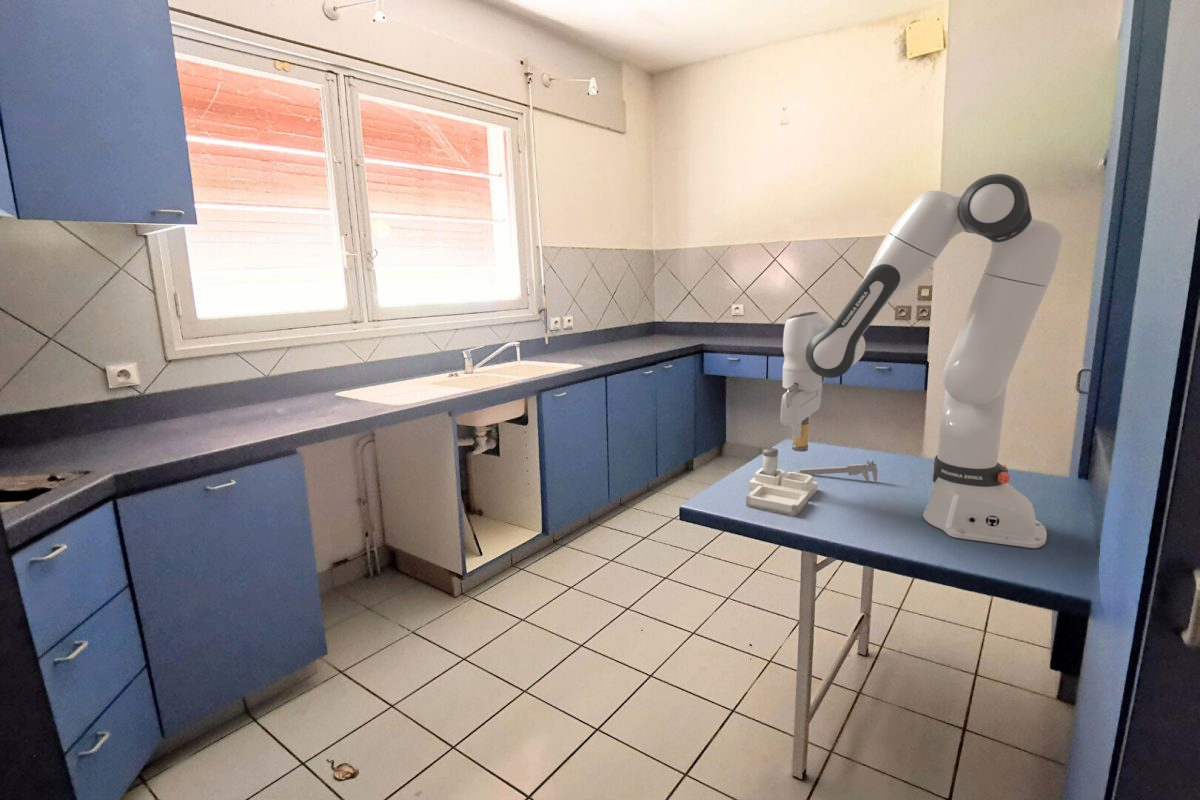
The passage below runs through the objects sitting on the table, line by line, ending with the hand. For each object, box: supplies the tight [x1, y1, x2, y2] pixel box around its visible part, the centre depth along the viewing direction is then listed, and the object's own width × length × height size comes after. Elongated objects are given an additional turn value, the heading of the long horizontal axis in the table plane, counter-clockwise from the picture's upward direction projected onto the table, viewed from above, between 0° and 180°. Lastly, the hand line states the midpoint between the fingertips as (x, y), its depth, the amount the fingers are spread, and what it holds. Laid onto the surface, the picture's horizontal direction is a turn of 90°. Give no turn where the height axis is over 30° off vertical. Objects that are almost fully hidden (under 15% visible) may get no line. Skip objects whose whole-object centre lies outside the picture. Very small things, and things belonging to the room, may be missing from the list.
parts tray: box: [745, 484, 809, 517], centre depth 144 cm, size 12×9×2 cm
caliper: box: [795, 459, 878, 483], centre depth 159 cm, size 20×1×6 cm, turn 65°
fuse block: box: [748, 447, 819, 501], centre depth 152 cm, size 15×8×10 cm, turn 55°
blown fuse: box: [791, 417, 810, 453], centre depth 147 cm, size 4×4×8 cm
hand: (800, 435), depth 147 cm, fingers closed on blown fuse, 4 cm apart
